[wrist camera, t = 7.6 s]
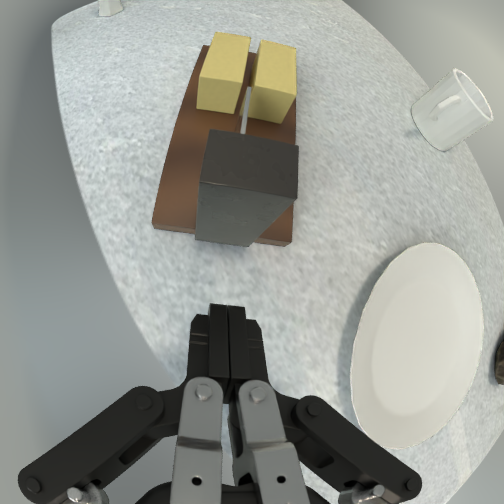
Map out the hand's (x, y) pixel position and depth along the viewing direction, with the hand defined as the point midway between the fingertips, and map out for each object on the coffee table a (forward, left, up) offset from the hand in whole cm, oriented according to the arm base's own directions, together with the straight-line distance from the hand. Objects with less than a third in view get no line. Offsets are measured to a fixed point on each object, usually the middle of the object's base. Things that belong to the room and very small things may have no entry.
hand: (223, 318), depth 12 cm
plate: (+20, -6, -8) cm, 22 cm away
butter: (+3, +19, -6) cm, 20 cm away
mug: (+28, +21, -8) cm, 36 cm away
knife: (+1, +10, -6) cm, 11 cm away
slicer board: (+2, +15, -8) cm, 17 cm away
